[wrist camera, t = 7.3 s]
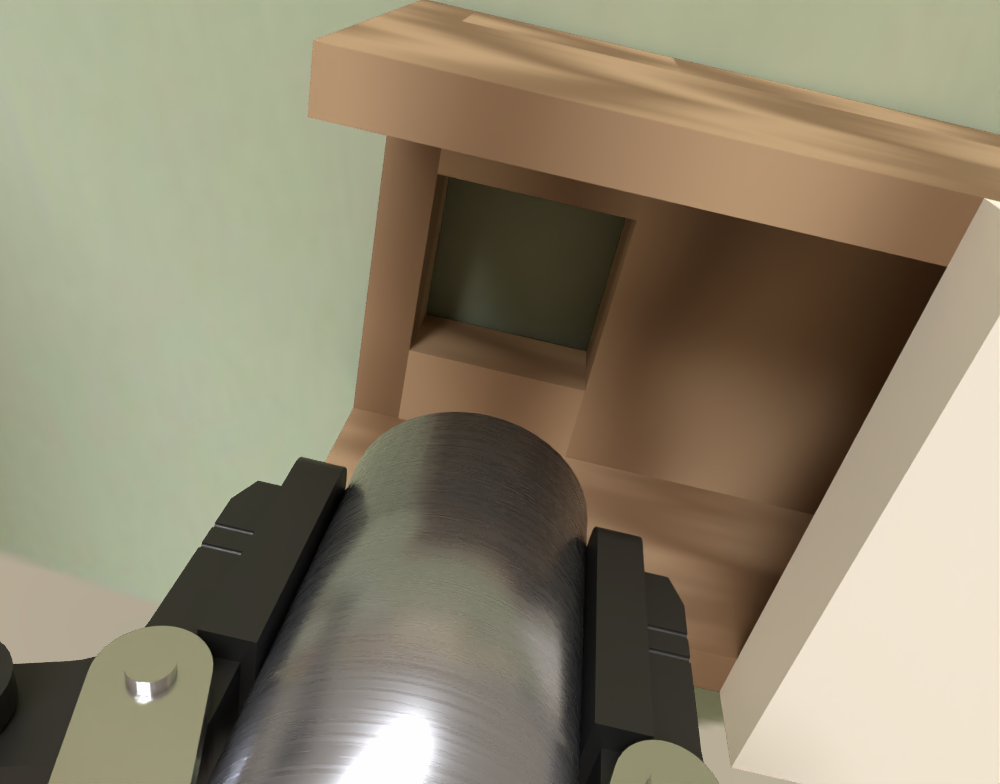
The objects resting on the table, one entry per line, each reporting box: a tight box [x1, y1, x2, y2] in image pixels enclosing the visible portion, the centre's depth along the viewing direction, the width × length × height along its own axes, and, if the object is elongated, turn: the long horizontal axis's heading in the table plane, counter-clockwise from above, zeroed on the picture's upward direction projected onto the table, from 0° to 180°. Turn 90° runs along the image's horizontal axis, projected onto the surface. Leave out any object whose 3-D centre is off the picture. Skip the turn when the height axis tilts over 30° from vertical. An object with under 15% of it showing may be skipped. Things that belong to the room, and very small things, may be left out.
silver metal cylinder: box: [207, 412, 588, 784], centre depth 10 cm, size 4×4×7 cm
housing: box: [308, 0, 1000, 692], centre depth 20 cm, size 22×12×9 cm, turn 78°
